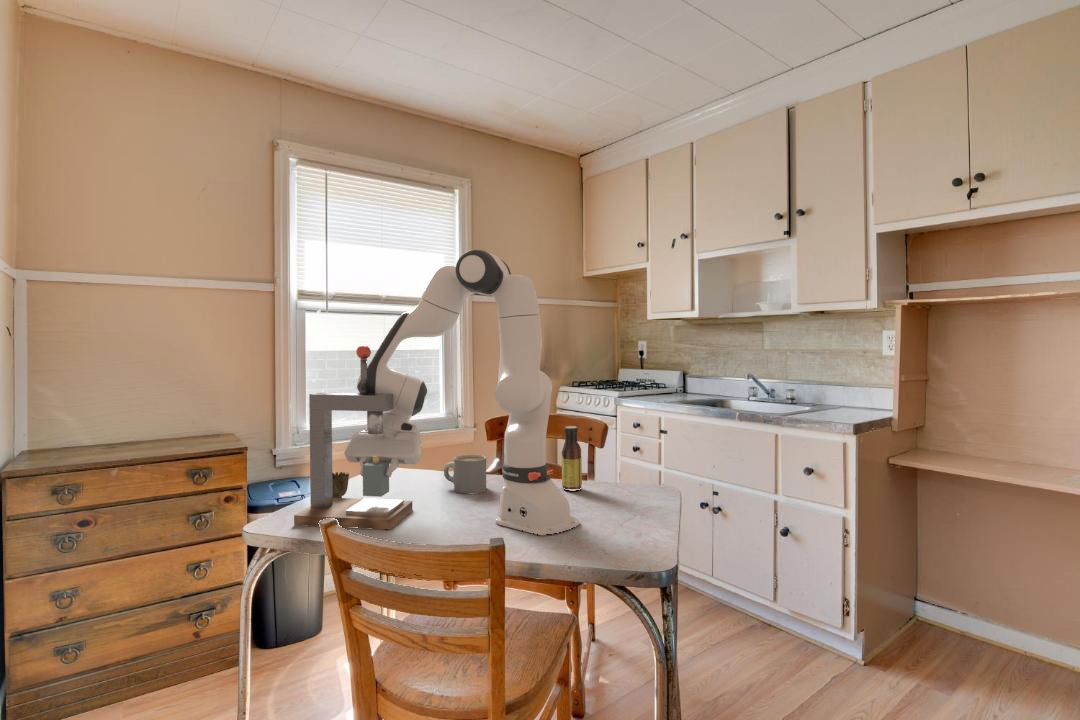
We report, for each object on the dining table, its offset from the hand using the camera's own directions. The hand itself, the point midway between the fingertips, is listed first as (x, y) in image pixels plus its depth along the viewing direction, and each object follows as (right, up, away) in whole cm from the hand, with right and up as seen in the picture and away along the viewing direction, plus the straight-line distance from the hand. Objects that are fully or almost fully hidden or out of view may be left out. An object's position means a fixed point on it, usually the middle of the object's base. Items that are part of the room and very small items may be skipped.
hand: (375, 475), depth 145 cm
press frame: (-6, -9, +1) cm, 11 cm away
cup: (-16, -11, +15) cm, 24 cm away
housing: (0, -5, +1) cm, 5 cm away
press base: (-5, -11, +1) cm, 13 cm away
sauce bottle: (+53, -11, +29) cm, 61 cm away
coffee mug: (+20, -10, +30) cm, 37 cm away
